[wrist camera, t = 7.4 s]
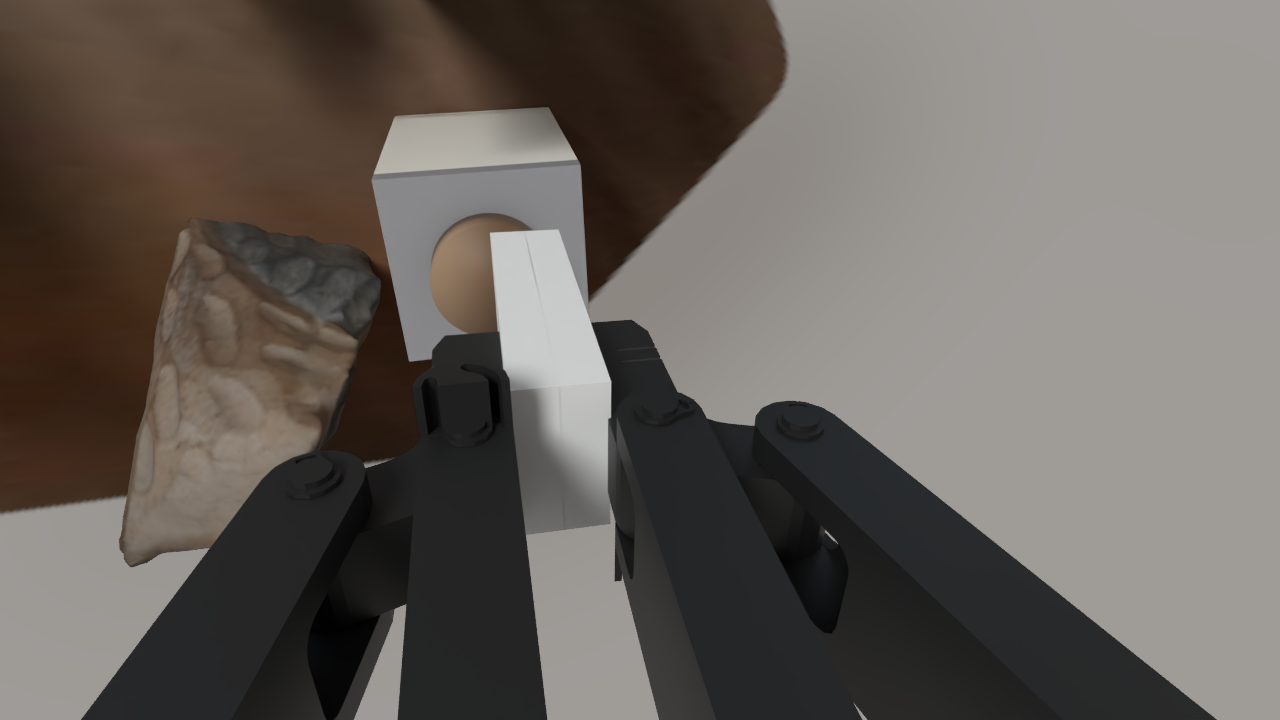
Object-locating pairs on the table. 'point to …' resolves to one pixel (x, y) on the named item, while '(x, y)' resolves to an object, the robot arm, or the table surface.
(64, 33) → the table surface
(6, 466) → the table surface
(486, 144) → the short press
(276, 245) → the owl
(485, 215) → the tan rounded piece
